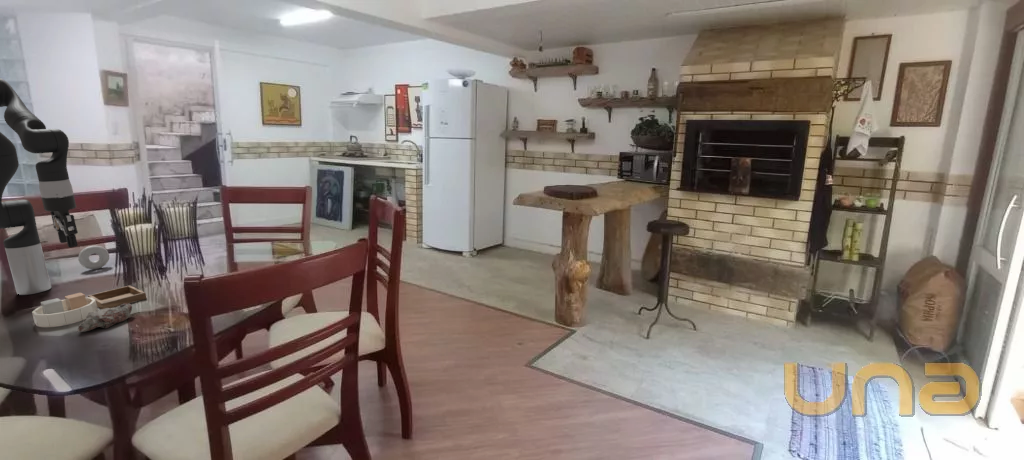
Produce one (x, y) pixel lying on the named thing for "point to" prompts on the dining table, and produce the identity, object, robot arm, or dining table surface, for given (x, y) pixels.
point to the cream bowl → (64, 315)
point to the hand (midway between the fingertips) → (68, 244)
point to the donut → (90, 250)
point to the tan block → (75, 301)
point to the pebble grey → (52, 306)
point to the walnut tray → (118, 297)
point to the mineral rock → (105, 317)
